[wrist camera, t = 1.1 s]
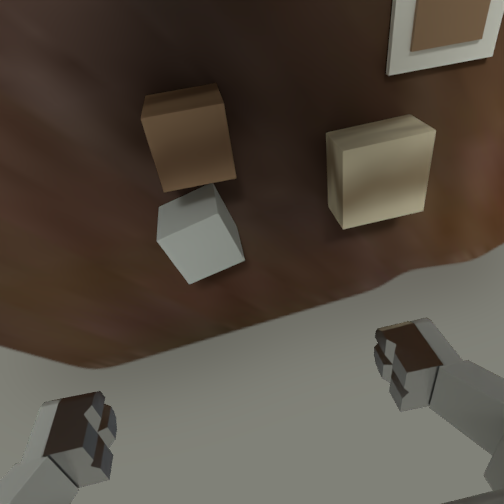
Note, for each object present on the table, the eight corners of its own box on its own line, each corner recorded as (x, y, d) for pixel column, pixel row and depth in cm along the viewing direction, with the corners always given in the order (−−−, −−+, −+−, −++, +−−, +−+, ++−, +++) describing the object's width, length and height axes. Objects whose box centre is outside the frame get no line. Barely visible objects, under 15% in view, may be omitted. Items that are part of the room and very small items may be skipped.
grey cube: (158, 206, 31) (156, 240, 27) (212, 181, 30) (217, 213, 27) (187, 248, 34) (189, 284, 30) (236, 226, 34) (245, 260, 30)
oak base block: (324, 131, 30) (342, 151, 27) (408, 113, 30) (436, 130, 27) (327, 205, 34) (342, 229, 31) (400, 188, 34) (423, 210, 31)
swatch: (398, -68, 22) (405, -69, 22) (522, -88, 23) (532, -90, 22) (385, 74, 27) (390, 76, 27) (487, 55, 28) (495, 57, 27)
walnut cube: (145, 95, 26) (140, 118, 22) (216, 82, 26) (223, 103, 22) (165, 161, 29) (163, 192, 25) (228, 149, 29) (236, 178, 25)
